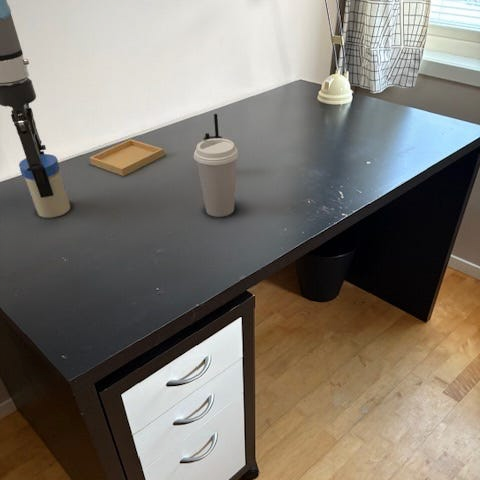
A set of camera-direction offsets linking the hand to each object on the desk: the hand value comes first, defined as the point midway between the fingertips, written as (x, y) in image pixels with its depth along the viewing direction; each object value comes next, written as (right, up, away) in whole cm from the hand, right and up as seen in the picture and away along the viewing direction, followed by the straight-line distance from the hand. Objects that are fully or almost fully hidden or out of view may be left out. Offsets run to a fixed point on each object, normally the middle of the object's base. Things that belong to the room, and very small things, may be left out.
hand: (46, 187), depth 109 cm
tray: (+13, +14, +23) cm, 30 cm away
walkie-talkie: (+38, +8, +15) cm, 42 cm away
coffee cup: (+40, -5, +1) cm, 40 cm away
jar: (0, -4, +4) cm, 6 cm away
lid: (0, +4, -4) cm, 6 cm away
